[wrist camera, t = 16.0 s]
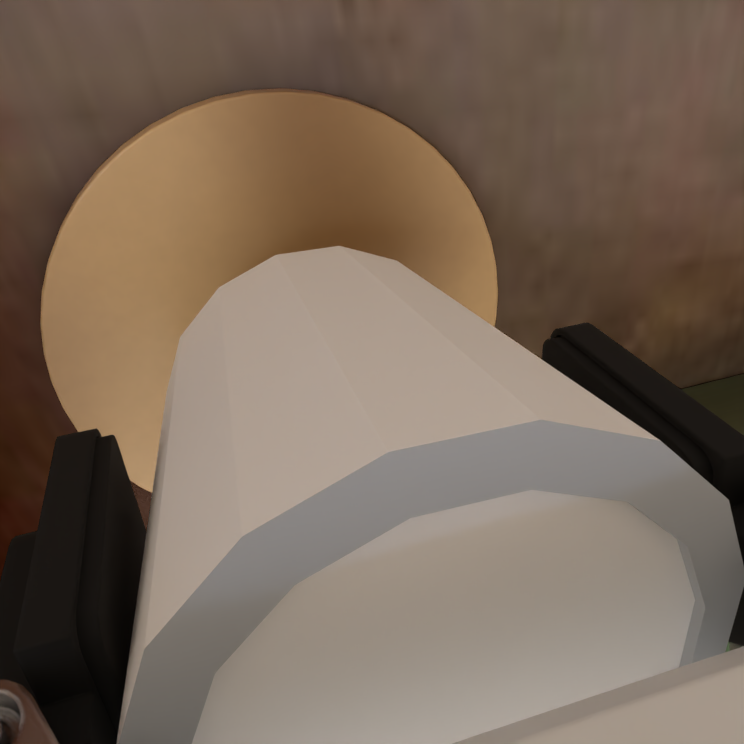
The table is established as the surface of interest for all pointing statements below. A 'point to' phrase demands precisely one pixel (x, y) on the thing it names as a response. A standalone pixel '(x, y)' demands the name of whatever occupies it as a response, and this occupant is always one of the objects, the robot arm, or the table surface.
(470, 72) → the table surface
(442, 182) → the coaster
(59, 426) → the table surface
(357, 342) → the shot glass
